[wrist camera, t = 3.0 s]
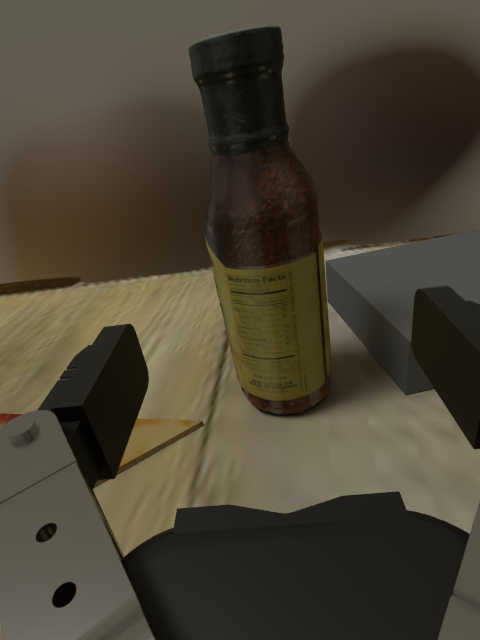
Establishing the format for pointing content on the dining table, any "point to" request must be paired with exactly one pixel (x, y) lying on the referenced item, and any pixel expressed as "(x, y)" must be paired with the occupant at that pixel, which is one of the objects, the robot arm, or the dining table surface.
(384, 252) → the charcoal base
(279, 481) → the dining table surface
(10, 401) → the dining table surface
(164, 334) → the dining table surface
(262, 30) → the sauce bottle
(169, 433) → the pizza slice
